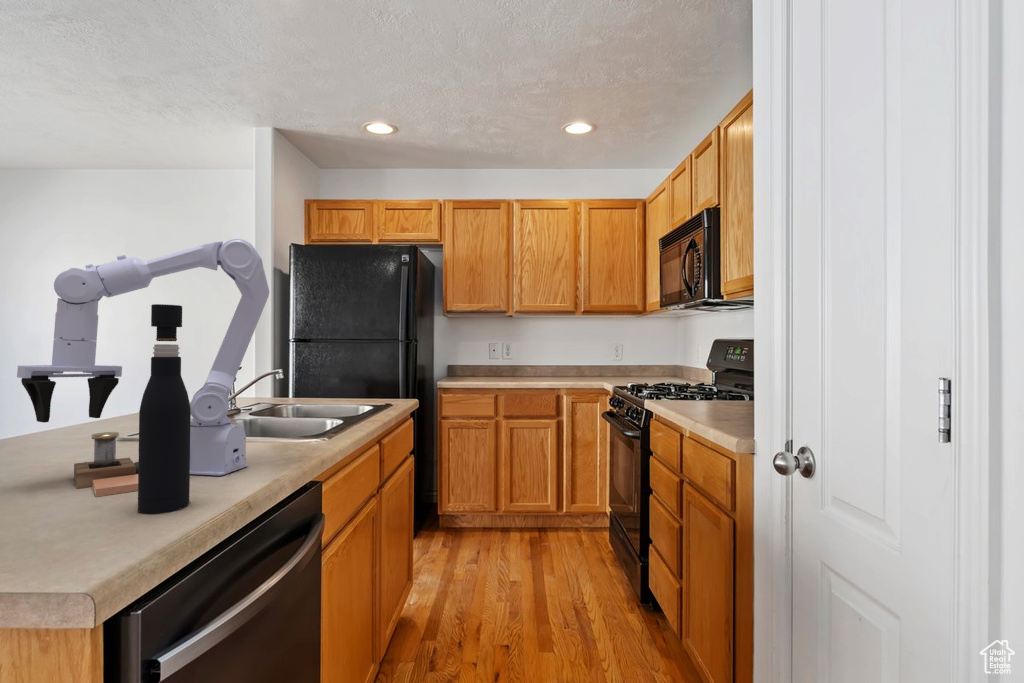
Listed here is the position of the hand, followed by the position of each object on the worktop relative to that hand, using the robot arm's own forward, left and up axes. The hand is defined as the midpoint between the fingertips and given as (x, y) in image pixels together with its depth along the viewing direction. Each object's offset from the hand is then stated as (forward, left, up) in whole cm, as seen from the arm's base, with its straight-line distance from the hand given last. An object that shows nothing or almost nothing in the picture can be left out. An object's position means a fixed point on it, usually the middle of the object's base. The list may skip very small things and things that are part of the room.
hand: (69, 419), depth 90 cm
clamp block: (-4, -4, -11) cm, 12 cm away
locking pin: (-4, -3, -11) cm, 12 cm away
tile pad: (-11, +1, -11) cm, 16 cm away
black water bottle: (-26, +8, -11) cm, 29 cm away
